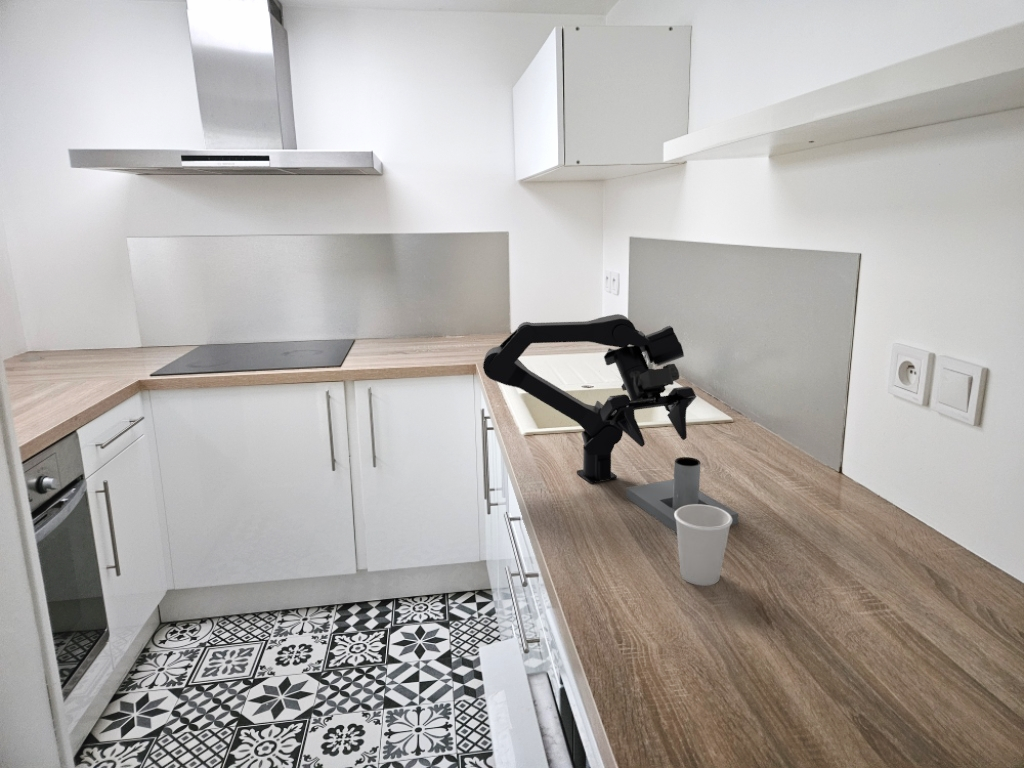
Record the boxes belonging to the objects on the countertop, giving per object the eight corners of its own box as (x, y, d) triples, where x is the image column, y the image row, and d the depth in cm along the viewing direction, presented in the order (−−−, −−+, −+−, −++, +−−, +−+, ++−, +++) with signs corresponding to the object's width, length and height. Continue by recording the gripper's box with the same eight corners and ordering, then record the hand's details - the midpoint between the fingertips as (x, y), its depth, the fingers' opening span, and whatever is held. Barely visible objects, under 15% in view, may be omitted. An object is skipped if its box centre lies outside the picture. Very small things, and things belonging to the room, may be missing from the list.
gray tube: (679, 506, 128) (681, 455, 126) (701, 513, 125) (704, 460, 123) (667, 514, 125) (670, 462, 122) (690, 521, 122) (693, 467, 120)
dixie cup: (691, 556, 110) (694, 499, 107) (739, 576, 104) (743, 515, 101) (660, 575, 104) (663, 515, 102) (708, 596, 98) (712, 533, 96)
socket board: (626, 497, 133) (626, 487, 132) (678, 487, 137) (678, 478, 137) (680, 536, 117) (681, 525, 116) (737, 523, 121) (738, 513, 120)
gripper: (608, 355, 126) (637, 428, 119) (693, 346, 133) (726, 415, 126) (588, 386, 136) (614, 456, 128) (668, 376, 142) (698, 443, 135)
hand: (664, 442), depth 129 cm, fingers open, 9 cm apart
